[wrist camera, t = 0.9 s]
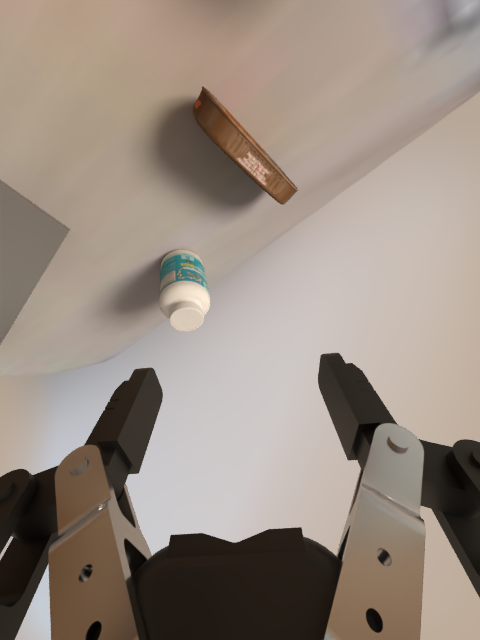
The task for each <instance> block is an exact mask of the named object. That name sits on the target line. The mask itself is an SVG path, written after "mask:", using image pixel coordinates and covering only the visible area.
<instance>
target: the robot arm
mask: <svg viewBox="0 0 480 640" xmlns="http://www.w3.org/2000/svg"><path fill="white" fill-rule="evenodd" d="M318 384H319V388H320V391H321V394H322V396H323V399H324V401H325V404H326V406H327V409H328V411H329V414H330V416H331V419H332V421H333V424H334V426H335V429H336V431H337V434H338V436H339V439H340V441H341V444H342V447H343V449H344V452H345V454H346V456H347V459H348V460H358V463H359V465H360V467H361V470H360V473H359V477H358V481H357V485H356V488H355V492H354V496H353V499H352V503H351V507H350V511H349V514H348V518H347V521H346V524H345V527H344V531H343V534H342V537H341V541H340V544H339V548H338V552H337V556H335V555H334V554H333V553H332V552H331V551H329V550H328V549H327V548H326V547H324V546H322V545H321V544H319V543H318V542H316V541H313V540H311V539H309V538H306V537H303V534H302V529H301V528H284V529H269V530H266V531H264V532H261V533H259V534H257V535H254V536H252V537H250V538H247V539H245V540H242V541H240V542H237V543H232V542H229V541H226V540H222V539H219V538H216V537H213V536H210V535H206V534H203V533H198V534H182V535H171V536H170V542H169V546H167V547H165V548H163V549H161V550H160V551H158V552H157V553H155V554H154V555H153V556H152V555H151V552H150V550H149V547H148V545H147V543H146V540H145V539H144V537H143V535H142V533H141V530H140V527H139V524H138V521H137V518H136V515H135V512H134V508H133V506H132V502H131V499H130V496H129V492H128V489H127V486H126V484H125V482H126V479H127V476H128V474H137V473H139V471H140V467H141V465H142V461H143V458H144V455H145V452H146V449H147V446H148V443H149V440H150V437H151V434H152V431H153V428H154V424H155V421H156V418H157V415H158V412H159V409H160V405H161V403H162V397H163V393H162V389H161V386H160V384H159V381H158V378H157V376H156V373H155V371H154V369H153V368H141V369H135V370H134V372H133V373H132V375H131V377H130V379H129V381H124V382H123V383H122V384H121V385H120V386H119V387H118V388H117V389H116V390H115V392H114V394H113V395H112V397H111V399H110V402H108V404H107V406H106V408H105V410H104V411H103V413H102V415H101V416H100V418H99V420H98V422H97V424H96V426H95V427H94V429H93V431H92V433H91V434H90V436H89V438H88V440H87V441H86V443H85V445H84V446H82V447H79V448H77V449H75V450H74V451H72V452H71V453H70V454H68V456H66V457H65V458H64V460H63V461H62V462H61V463H60V465H59V466H56V467H54V468H51V469H48V470H45V471H43V472H40V473H37V474H35V475H31V474H30V473H29V472H28V471H27V470H24V469H17V470H14V471H11V472H9V473H7V474H5V475H3V476H2V477H0V554H1V552H2V550H3V549H4V547H5V545H6V543H7V542H8V540H9V538H10V536H12V537H14V538H13V539H12V541H11V543H10V545H9V546H8V548H7V550H6V552H5V553H4V555H3V557H2V559H1V560H0V640H15V637H16V635H17V633H18V630H19V628H20V626H21V624H22V622H23V619H24V617H25V615H26V613H27V610H28V608H29V606H30V603H31V601H32V599H33V597H34V594H35V592H36V590H37V588H38V585H39V583H40V581H41V579H42V576H43V574H44V572H45V569H46V567H47V565H48V563H49V589H50V615H51V616H50V617H51V640H420V629H421V610H422V592H423V591H422V590H423V573H424V554H425V553H424V552H425V523H424V520H423V519H421V517H420V505H421V506H425V507H428V508H431V509H432V510H433V512H434V514H435V516H436V518H437V520H438V522H439V523H440V525H441V527H442V529H443V531H444V532H445V534H446V536H447V538H448V540H449V542H450V544H451V546H452V547H453V549H454V551H455V553H456V554H457V557H458V558H459V560H460V562H461V564H462V566H463V568H464V569H465V572H466V573H467V575H468V577H469V579H470V581H471V582H472V584H473V586H474V588H475V590H476V592H477V594H478V595H479V597H480V442H477V441H473V440H459V441H457V442H456V443H455V444H454V445H453V447H449V446H445V445H440V444H435V443H431V442H427V441H423V440H420V439H418V438H417V437H416V436H415V435H414V434H413V433H412V432H410V431H409V430H407V429H406V428H404V427H402V426H399V425H398V424H397V423H396V422H395V420H394V419H393V417H392V416H391V415H390V413H389V411H388V410H387V409H386V407H385V405H384V404H383V402H382V401H381V399H380V398H379V396H378V394H377V393H376V391H374V389H373V387H372V385H371V384H370V383H369V382H368V379H367V378H366V376H365V375H364V373H363V372H362V370H360V369H359V368H357V367H356V366H355V365H354V364H353V363H348V364H346V363H345V362H344V360H343V358H342V356H341V355H340V354H339V353H330V354H322V355H321V358H320V367H319V374H318Z"/></svg>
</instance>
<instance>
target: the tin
mask: <svg viewBox="0 0 480 640" xmlns="http://www.w3.org/2000/svg"><path fill="white" fill-rule="evenodd" d="M193 114H194V116H195V119H196V121H197V123H198V124H199V125H200V127H201V128H202V129H203V130H204V131H205V133H206V134H207V135H208V136H209V137H210V138H211V139H212V140H213V141H214V142H215V143H216V144H217V145H218V146H219V147H220V148H221V149H222V150H223V151H224V153H226V154H227V155H228V156H229V157H230V158H231V159H232V160H233V161H234V162H235V163H236V164H237V165H238V166H239V167H240V168H241V169H242V170H243V171H244V172H245V173H246V174H247V175H249V176H250V177H251V178H252V179H253V180H254V181H255V182H256V183H257V184H258V185H259V186H260V187H261V188H262V189H264V190H265V191H266V192H267V193H268V194H269V195H270V196H271V197H272V198H274V199H275V200H276V201H277V202H279V203H280V204H285V203H286V202H287V201H288V200H289V199H290V198H291V197H292V196H293V195H294V194H295V192H297V191H298V189H297V187H296V186H295V185H294V184H293V183H292V182H291V181H290V179H289V178H288V177H287V176H286V175H285V173H284V172H283V171H282V170H281V169H280V168H279V166H278V165H277V164H276V163H275V162H274V161H273V160H272V159H271V158H270V157H269V155H268V154H267V153H266V152H265V151H264V150H263V149H262V148H261V147H260V146H259V145H258V143H257V142H256V141H255V140H254V139H253V138H252V137H251V136H250V135H249V134H248V132H247V131H246V130H245V129H244V128H243V127H242V126H241V125H240V124H239V123H238V122H237V120H236V119H235V118H234V117H233V116H232V115H231V114H230V113H229V112H228V111H227V110H226V109H225V108H224V107H223V106H222V104H221V103H220V102H219V101H218V100H217V99H216V98H215V97H214V96H213V95H212V94H211V93H210V92H209V91H208V90H207V89H206V88H205V87H204V86H203V87H202V91H201V93H200V95H199V97H198V99H197V101H196V103H195V105H194V107H193Z"/></svg>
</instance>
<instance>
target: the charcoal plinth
mask: <svg viewBox="0 0 480 640" xmlns="http://www.w3.org/2000/svg"><path fill="white" fill-rule="evenodd" d="M69 230H70V229H69V228H67V227H66V226H64V225H63V224H62V223H60V222H59V221H57V220H56V219H55V218H53V217H52V216H50V215H49V214H47V213H46V212H45V211H43V210H42V209H40V208H39V207H38V206H36V205H35V204H33V203H32V202H30V201H29V200H28V199H26V198H25V197H23V196H22V195H20V194H19V193H18V192H16V191H15V190H13V189H12V188H11V187H9V186H8V185H6V184H5V183H3V182H2V181H1V180H0V344H1V343H2V341H3V339H4V338H5V336H6V334H7V333H8V331H9V329H10V328H11V326H12V325H13V323H14V321H15V320H16V318H17V316H18V315H19V313H20V311H21V310H22V308H23V306H24V305H25V303H26V301H27V300H28V298H29V296H30V295H31V293H32V291H33V290H34V288H35V286H36V285H37V283H38V281H39V280H40V278H41V277H42V275H43V273H44V272H45V270H46V268H47V267H48V265H49V263H50V262H51V260H52V258H53V257H54V255H55V253H56V252H57V250H58V248H59V247H60V245H61V243H62V242H63V240H64V238H65V237H66V235H67V234H68V232H69Z"/></svg>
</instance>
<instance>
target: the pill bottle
mask: <svg viewBox="0 0 480 640" xmlns="http://www.w3.org/2000/svg"><path fill="white" fill-rule="evenodd" d="M159 305H160V309H161V311H162V313H163V314H164V315H165V316H166V317H167V318H169V320H170V324H171V325H172V327H173V328H175V329H177V330H179V331H192V330H195V329H197V328H198V327H199V326H201V324H202V323H203V320H204V317H203V316H204V315H205V314H206V313H207V311H208V310H209V307H210V297H209V292H208V286H207V281H206V275H205V270H204V265H203V262H202V261H201V259H200V258H199V257H198V256H197V255H196V254H195V253H193V252H191V251H188V250H175V251H172V252H170V253H169V254H167V255H166V256H165V257H164V259H163V260H162V263H161V270H160V296H159Z"/></svg>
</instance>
